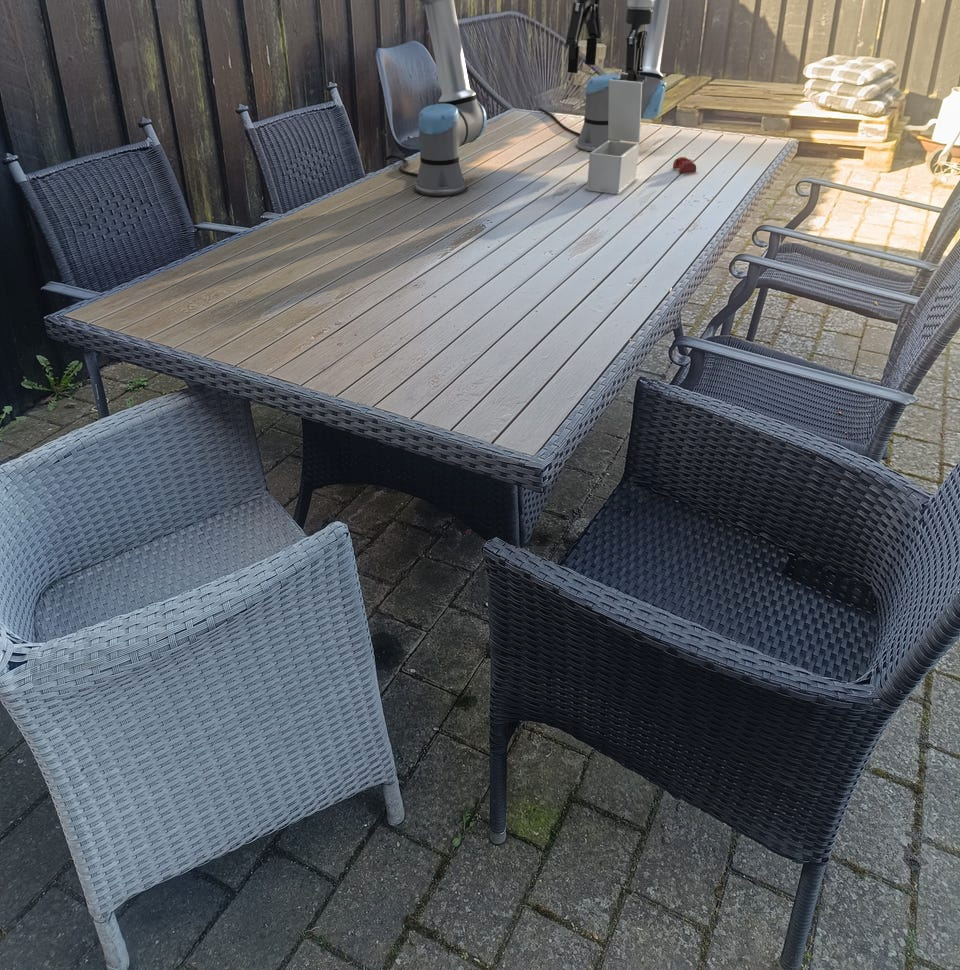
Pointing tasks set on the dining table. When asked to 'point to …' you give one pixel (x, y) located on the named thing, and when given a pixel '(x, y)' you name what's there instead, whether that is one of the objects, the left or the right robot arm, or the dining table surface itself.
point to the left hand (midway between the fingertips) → (581, 68)
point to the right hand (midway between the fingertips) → (631, 95)
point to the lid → (625, 108)
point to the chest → (612, 167)
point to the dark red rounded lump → (684, 165)
